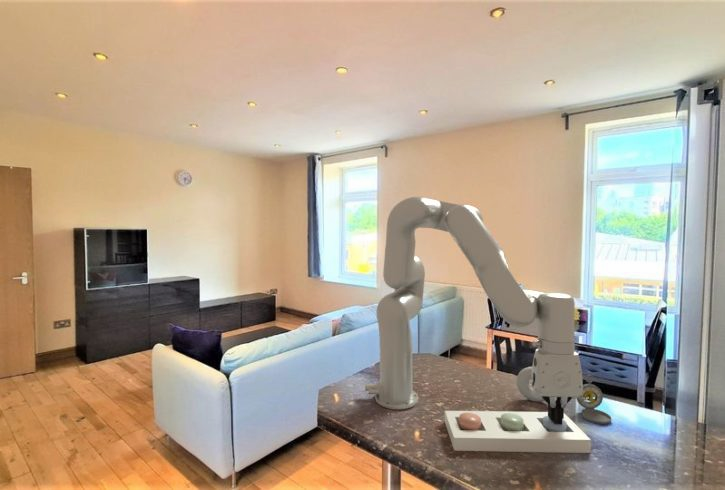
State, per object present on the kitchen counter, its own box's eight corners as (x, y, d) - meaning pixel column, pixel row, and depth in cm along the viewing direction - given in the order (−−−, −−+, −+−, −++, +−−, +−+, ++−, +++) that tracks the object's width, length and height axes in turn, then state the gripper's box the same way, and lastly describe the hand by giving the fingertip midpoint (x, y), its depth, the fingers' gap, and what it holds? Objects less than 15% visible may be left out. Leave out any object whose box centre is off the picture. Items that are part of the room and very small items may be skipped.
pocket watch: (602, 428, 89) (602, 388, 89) (569, 412, 97) (569, 376, 96) (620, 419, 93) (621, 381, 93) (587, 405, 101) (587, 370, 100)
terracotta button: (461, 431, 84) (461, 423, 84) (457, 420, 89) (457, 412, 89) (483, 432, 84) (483, 423, 84) (477, 420, 89) (477, 412, 89)
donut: (554, 401, 103) (554, 367, 102) (554, 407, 100) (555, 372, 99) (516, 395, 107) (516, 362, 107) (515, 400, 104) (516, 366, 104)
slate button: (548, 435, 83) (548, 426, 83) (539, 423, 88) (539, 415, 88) (570, 435, 83) (570, 427, 83) (560, 423, 88) (560, 415, 88)
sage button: (505, 432, 84) (505, 423, 84) (498, 420, 89) (498, 412, 89) (526, 432, 84) (526, 424, 83) (518, 421, 89) (518, 413, 88)
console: (454, 450, 81) (454, 437, 81) (444, 421, 93) (444, 410, 93) (590, 453, 80) (590, 439, 79) (563, 423, 92) (563, 412, 91)
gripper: (530, 351, 81) (530, 429, 82) (598, 351, 81) (597, 430, 81) (517, 340, 89) (517, 413, 90) (579, 340, 88) (579, 413, 89)
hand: (555, 421), depth 86 cm, fingers closed
